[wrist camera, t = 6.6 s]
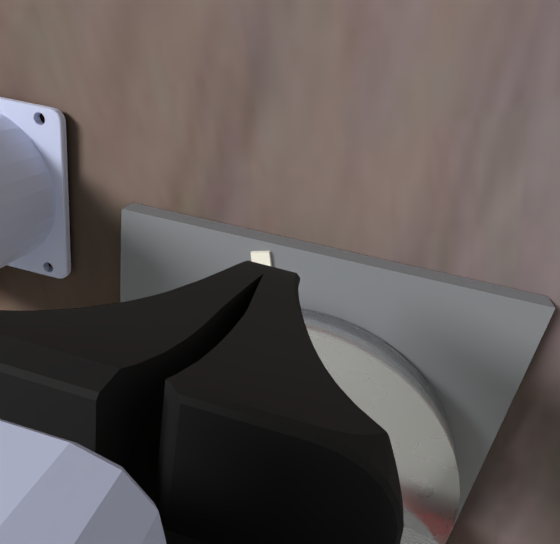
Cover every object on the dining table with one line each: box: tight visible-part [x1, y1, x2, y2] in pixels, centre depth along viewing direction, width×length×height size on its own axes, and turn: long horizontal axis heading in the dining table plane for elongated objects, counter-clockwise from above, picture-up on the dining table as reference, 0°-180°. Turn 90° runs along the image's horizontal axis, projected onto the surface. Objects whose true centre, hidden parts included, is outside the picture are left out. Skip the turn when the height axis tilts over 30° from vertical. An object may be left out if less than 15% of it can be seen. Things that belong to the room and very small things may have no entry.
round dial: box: [301, 308, 460, 544], centre depth 22 cm, size 16×16×4 cm
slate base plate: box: [120, 203, 555, 544], centre depth 24 cm, size 18×21×1 cm
